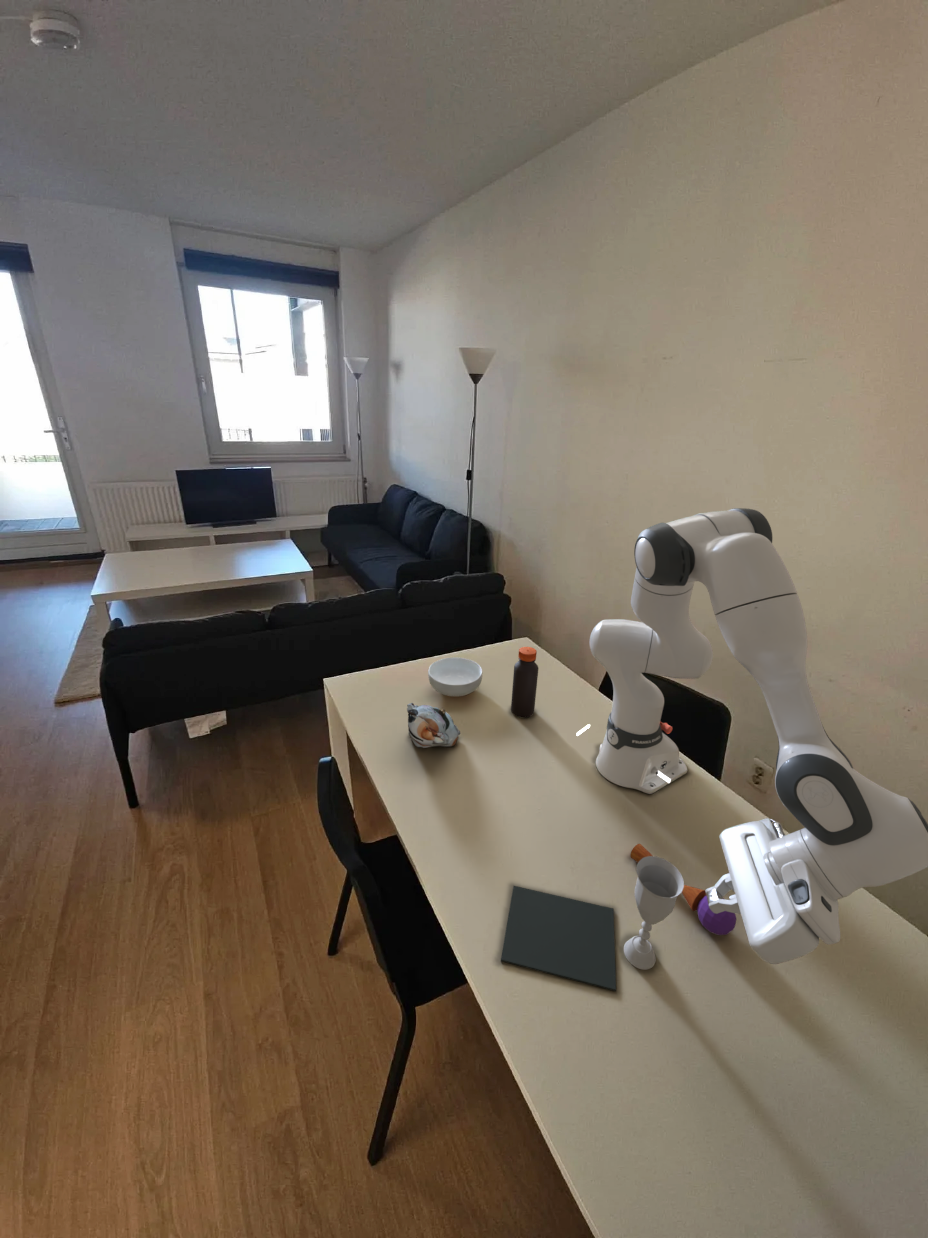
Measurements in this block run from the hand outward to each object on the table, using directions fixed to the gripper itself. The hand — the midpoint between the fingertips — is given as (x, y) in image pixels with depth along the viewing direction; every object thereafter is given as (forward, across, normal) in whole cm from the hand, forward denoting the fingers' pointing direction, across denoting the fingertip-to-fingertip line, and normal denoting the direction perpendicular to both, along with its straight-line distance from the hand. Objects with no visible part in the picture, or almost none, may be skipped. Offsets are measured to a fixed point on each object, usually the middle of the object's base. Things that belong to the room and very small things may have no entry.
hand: (709, 902), depth 76 cm
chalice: (+16, 0, +5) cm, 17 cm away
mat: (+25, 0, -4) cm, 26 cm away
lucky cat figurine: (+51, -45, -29) cm, 74 cm away
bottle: (+36, -65, -14) cm, 76 cm away
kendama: (+11, -13, +11) cm, 20 cm away
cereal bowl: (+51, -71, -30) cm, 93 cm away
